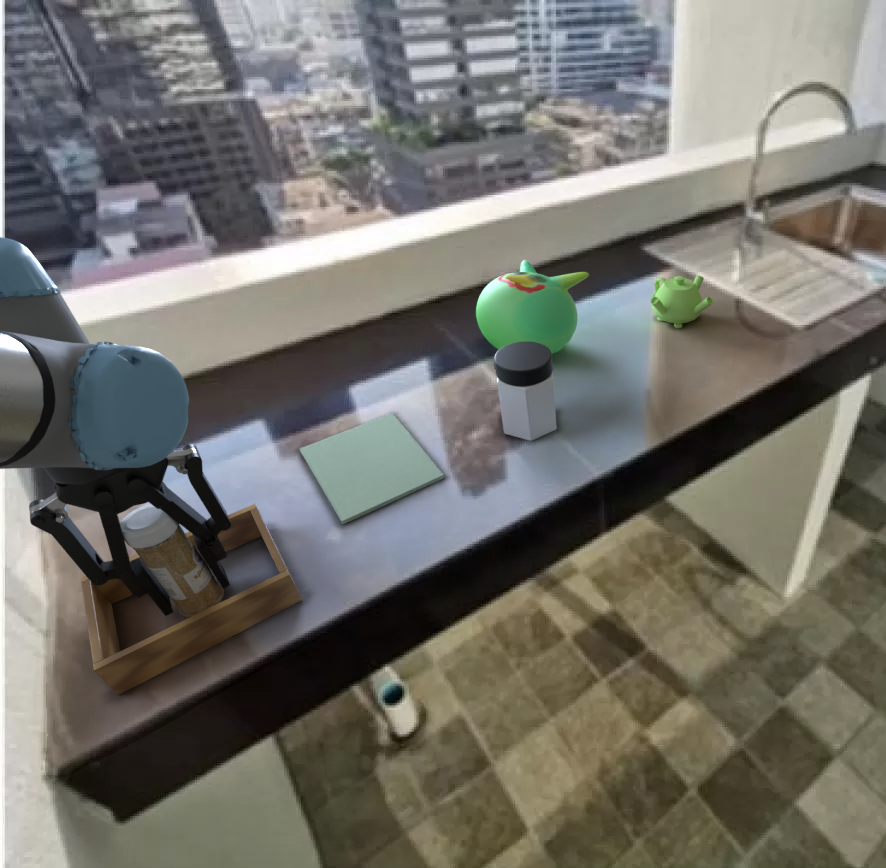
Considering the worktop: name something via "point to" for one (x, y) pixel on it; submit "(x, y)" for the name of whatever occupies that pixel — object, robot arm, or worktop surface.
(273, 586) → the wooden tray
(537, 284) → the toy bird
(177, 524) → the spice bottle
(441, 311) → the worktop surface
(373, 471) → the mat
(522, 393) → the jar
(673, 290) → the teapot
